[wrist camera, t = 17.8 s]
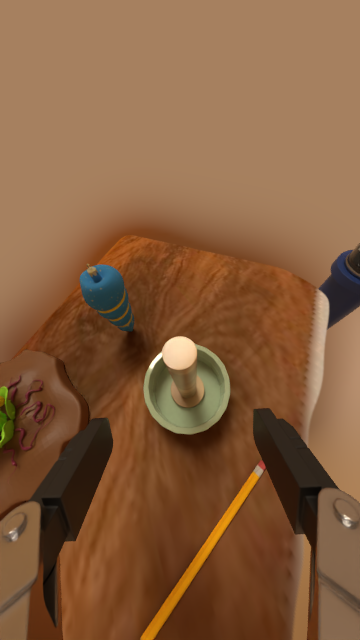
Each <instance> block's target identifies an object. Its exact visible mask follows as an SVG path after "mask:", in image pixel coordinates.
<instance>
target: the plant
mask: <svg viewBox="0 0 360 640" xmlns="http://www.w3.org/2000/svg"><path fill="white" fill-rule="evenodd" d="M88 418H89V411H88V405H87V403H86V401H85V399H84V398H83V397H82V395H81V394H80V393H79V392H78V391H77V390H76V389H75V388H74V387H73V385H72V384H71V382H70V380H69V378H68V376H67V374H66V372H65V370H64V363H63V361H62V360H60V359H58V358H56V357H53V356H51V355H49V354H47V353H45V352H41V351H30V350H27V349H26V350H24V351H23V352H22V353H21V354H20V355H19V356H17V357H16V358H14V359H12V360H10V361H7V362H3V363H0V521H1V520H2V519H3V518H4V517H5V516H6V515H8V514H9V513H10V512H11V511H12V510H14V509H15V508H17V507H18V506H20V505H21V504H22V503H23V502H24V501H29V500H30V498H31V497H32V496H33V494H34V493H35V491H36V490H37V488H38V487H39V485H40V484H41V483H42V481H43V480H44V478H45V477H46V475H47V474H48V472H49V471H50V469H51V468H52V467H53V465H54V464H55V462H56V461H58V458H59V456H60V455H61V453H62V452H64V449H65V448H66V446H67V445H68V443H69V442H70V440H71V439H72V438H73V437H74V436H75V435H76V434H78V433H79V432H80V431H81V430H85V429H86V427H87V425H88Z"/></svg>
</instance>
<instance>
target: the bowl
mask: <svg viewBox="0 0 360 640" xmlns="http://www.w3.org/2000/svg"><path fill="white" fill-rule="evenodd" d="M195 346H196V348H197V375H198V376H199V377H200V379H201V380H202V382H203V384H204V396H203V398H202V400H201V402H200V403H199V404H198V405H197V406H195V407H193V408H183V407H181V406H179V405H178V404H177V403H176V402H175V401H174V400H173V398H172V395H171V384H172V382H173V379H172V377H171V375H170V373H169V371H168V369H167V367H166V365H165V363H164V361H163V358H162V352H161V353H159V354H158V356H157V357H156V358H155V359H154V360H153V361H152V362H151V364H150V366H149V368H148V370H147V372H146V375H145V381H144V396H145V402H146V405H147V407H148V409H149V411H150V413H151V415H152V416H153V417H154V419H155V420H156V421H157V422H158V423H159V424H160V425H161V426H162V427H164V428H166V429H168V430H170V431H172V432H174V433H179V434H189V435H191V434H195V433H199V432H202V431H205V430H207V429H208V428H210V427H211V426H212V425H214V424H215V423H216V422H218V421H219V419H220V418H221V416H222V415H223V413H224V411H225V410H226V408H227V405H228V401H229V397H230V381H229V377H228V374H227V371H226V369H225V366H224V365H223V363H222V362H221V361H220V359H219V358H218V357H217V356H216V355H215V354H214V353H212V352H211V351H210V350H208V349H207V348H205V347H202V346H199V345H196V344H195Z"/></svg>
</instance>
